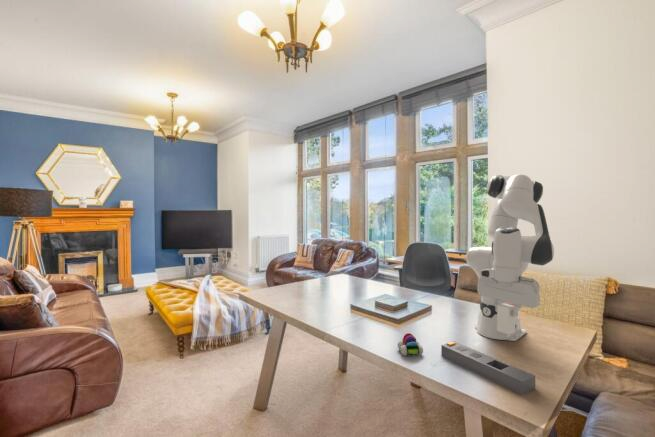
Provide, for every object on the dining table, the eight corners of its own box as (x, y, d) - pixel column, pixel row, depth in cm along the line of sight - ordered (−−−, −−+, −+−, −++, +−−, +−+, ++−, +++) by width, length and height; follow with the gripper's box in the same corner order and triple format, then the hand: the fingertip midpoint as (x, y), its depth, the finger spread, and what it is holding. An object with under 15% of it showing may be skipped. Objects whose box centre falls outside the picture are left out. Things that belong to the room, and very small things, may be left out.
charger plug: (503, 328, 114) (504, 303, 114) (515, 332, 111) (515, 306, 111) (497, 330, 112) (497, 305, 112) (508, 334, 109) (508, 308, 109)
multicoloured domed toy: (416, 347, 132) (417, 329, 132) (424, 358, 122) (424, 339, 122) (396, 347, 131) (396, 330, 131) (402, 358, 122) (402, 339, 122)
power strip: (453, 353, 125) (453, 339, 125) (535, 391, 99) (535, 373, 99) (441, 358, 122) (441, 343, 122) (522, 398, 96) (522, 379, 96)
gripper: (544, 278, 104) (543, 321, 104) (485, 268, 121) (485, 305, 122) (533, 281, 100) (533, 324, 101) (475, 270, 118) (474, 307, 119)
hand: (506, 313), depth 111 cm, fingers closed on charger plug, 4 cm apart
